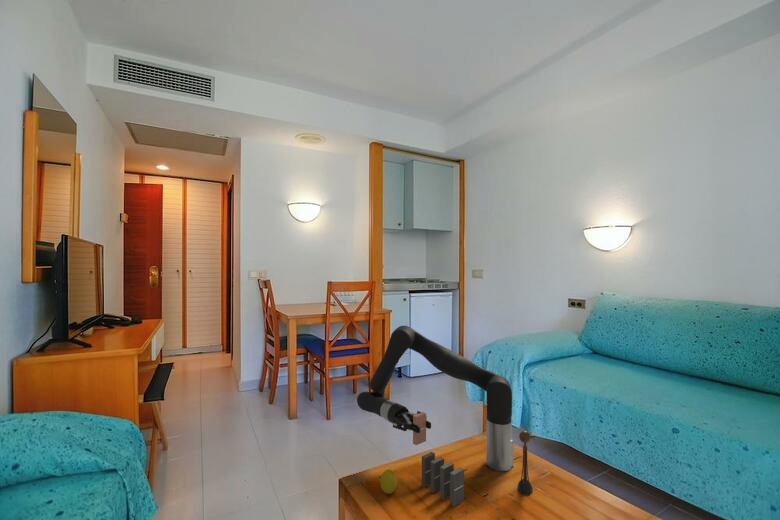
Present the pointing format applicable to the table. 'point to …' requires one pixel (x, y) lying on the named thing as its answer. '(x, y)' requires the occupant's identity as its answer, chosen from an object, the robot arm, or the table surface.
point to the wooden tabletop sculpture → (525, 465)
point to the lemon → (388, 481)
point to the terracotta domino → (421, 422)
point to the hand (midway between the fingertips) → (424, 428)
